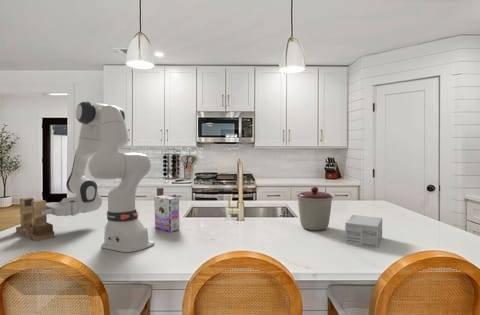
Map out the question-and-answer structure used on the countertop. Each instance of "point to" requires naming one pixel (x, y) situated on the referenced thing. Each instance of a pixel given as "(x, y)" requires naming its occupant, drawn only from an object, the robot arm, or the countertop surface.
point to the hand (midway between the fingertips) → (36, 211)
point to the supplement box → (363, 231)
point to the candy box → (167, 213)
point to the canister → (314, 209)
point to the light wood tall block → (38, 213)
